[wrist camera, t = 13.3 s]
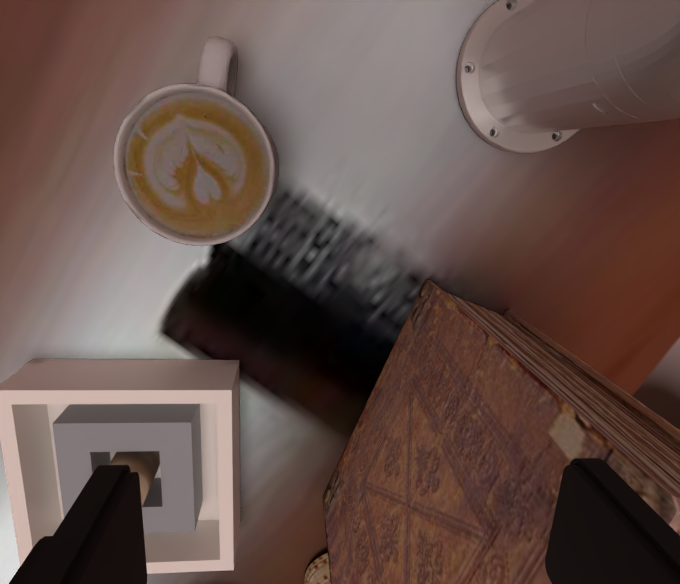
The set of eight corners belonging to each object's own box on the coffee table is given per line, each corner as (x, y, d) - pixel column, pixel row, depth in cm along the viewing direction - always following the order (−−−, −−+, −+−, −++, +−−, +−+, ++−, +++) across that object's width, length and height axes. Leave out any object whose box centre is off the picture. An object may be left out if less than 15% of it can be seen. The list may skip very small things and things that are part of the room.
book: (426, 275, 44) (686, 498, 15) (511, 310, 46) (887, 568, 17) (321, 497, 49) (365, 972, 20) (401, 520, 51) (543, 987, 22)
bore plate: (199, 399, 44) (191, 422, 40) (202, 500, 47) (195, 531, 43) (73, 399, 43) (52, 423, 39) (85, 503, 46) (66, 535, 42)
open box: (239, 360, 44) (231, 390, 38) (240, 521, 49) (233, 570, 43) (33, 358, 42) (-8, 390, 36) (55, 527, 47) (22, 578, 41)
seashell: (400, 566, 50) (371, 645, 49) (381, 543, 56) (354, 614, 54) (332, 541, 48) (300, 623, 47) (319, 520, 54) (289, 593, 52)
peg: (162, 433, 44) (127, 509, 35) (164, 470, 45) (131, 553, 36) (117, 433, 44) (69, 510, 34) (121, 471, 45) (75, 556, 35)
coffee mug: (254, 243, 41) (244, 268, 32) (141, 199, 40) (93, 212, 30) (312, 91, 39) (319, 69, 29) (192, 36, 37) (157, -8, 27)
